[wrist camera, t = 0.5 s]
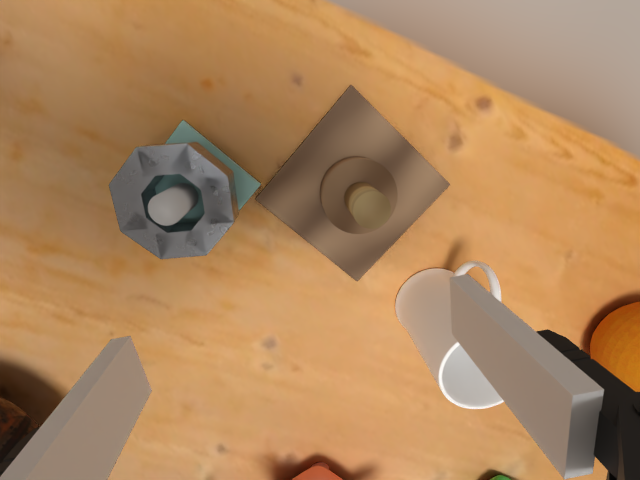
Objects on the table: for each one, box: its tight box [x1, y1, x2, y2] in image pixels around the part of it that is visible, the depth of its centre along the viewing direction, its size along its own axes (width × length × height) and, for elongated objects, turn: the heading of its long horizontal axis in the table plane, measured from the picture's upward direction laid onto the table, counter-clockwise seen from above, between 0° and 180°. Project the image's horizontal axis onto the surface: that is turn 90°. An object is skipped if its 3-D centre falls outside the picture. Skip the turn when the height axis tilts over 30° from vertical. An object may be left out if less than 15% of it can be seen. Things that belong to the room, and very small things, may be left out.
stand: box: [148, 120, 261, 226], centre depth 30 cm, size 9×9×9 cm
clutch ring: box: [109, 142, 239, 259], centre depth 29 cm, size 9×9×3 cm
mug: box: [395, 261, 504, 409], centre depth 35 cm, size 12×8×12 cm
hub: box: [255, 85, 450, 281], centre depth 32 cm, size 14×14×8 cm
